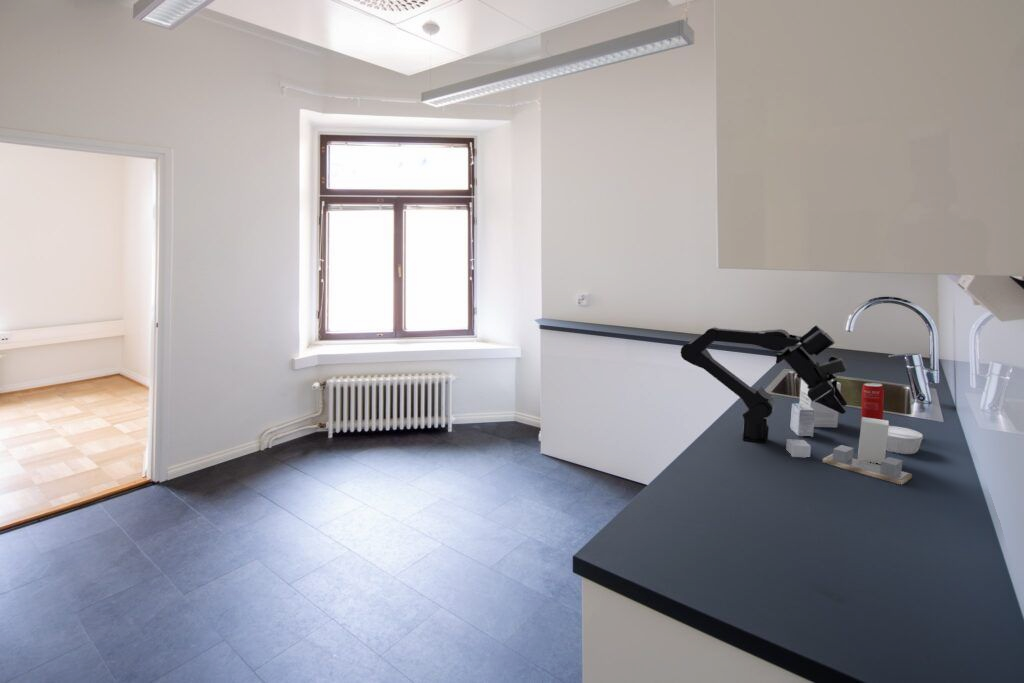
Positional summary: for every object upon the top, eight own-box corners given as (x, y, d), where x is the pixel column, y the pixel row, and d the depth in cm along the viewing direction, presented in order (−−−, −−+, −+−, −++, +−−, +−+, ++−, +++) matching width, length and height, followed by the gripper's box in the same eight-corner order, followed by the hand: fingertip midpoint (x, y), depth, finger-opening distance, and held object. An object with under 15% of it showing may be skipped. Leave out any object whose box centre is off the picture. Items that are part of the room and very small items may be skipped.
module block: (857, 460, 142) (861, 421, 140) (857, 454, 146) (861, 416, 144) (884, 464, 139) (888, 425, 137) (884, 459, 143) (888, 420, 141)
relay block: (792, 457, 145) (793, 445, 144) (785, 450, 149) (786, 439, 149) (809, 458, 144) (810, 446, 143) (802, 451, 149) (803, 440, 148)
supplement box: (825, 420, 178) (829, 377, 176) (837, 428, 169) (842, 383, 167) (797, 418, 179) (800, 376, 177) (808, 427, 170) (812, 382, 168)
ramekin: (890, 455, 145) (892, 437, 145) (864, 442, 156) (866, 425, 156) (931, 456, 145) (933, 438, 144) (902, 442, 156) (904, 425, 155)
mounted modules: (832, 459, 139) (833, 448, 139) (840, 455, 142) (841, 444, 142) (894, 476, 128) (895, 465, 128) (901, 471, 131) (902, 460, 131)
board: (822, 462, 140) (822, 458, 140) (833, 456, 145) (833, 453, 144) (901, 485, 126) (902, 481, 126) (911, 477, 130) (912, 474, 130)
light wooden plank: (825, 458, 140) (825, 458, 140) (835, 454, 144) (835, 453, 144) (900, 479, 127) (900, 479, 127) (908, 473, 130) (909, 473, 130)
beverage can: (886, 432, 165) (891, 386, 163) (865, 431, 165) (870, 386, 163) (873, 426, 171) (878, 381, 169) (853, 426, 171) (858, 381, 169)
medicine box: (813, 437, 160) (815, 410, 159) (797, 436, 161) (799, 409, 160) (804, 429, 168) (806, 403, 167) (789, 428, 169) (791, 402, 167)
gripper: (825, 352, 137) (871, 399, 133) (830, 343, 152) (872, 385, 148) (789, 378, 143) (832, 423, 138) (798, 366, 158) (837, 407, 153)
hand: (845, 408), depth 144 cm, fingers open, 9 cm apart
